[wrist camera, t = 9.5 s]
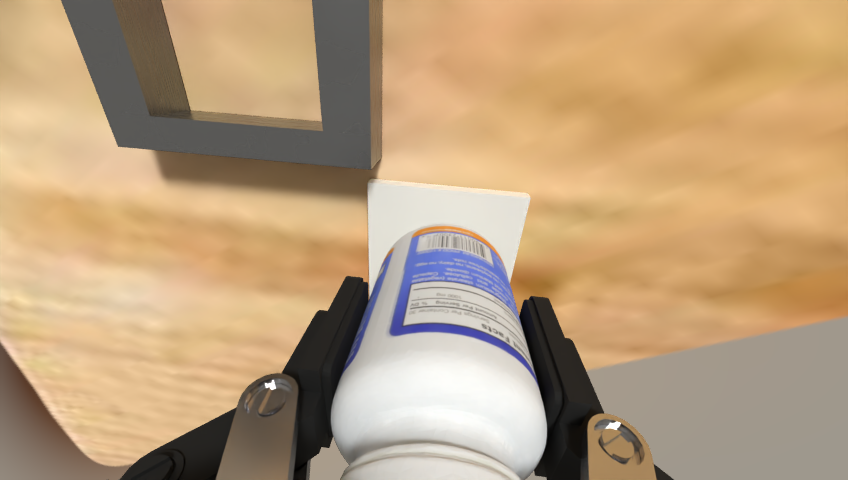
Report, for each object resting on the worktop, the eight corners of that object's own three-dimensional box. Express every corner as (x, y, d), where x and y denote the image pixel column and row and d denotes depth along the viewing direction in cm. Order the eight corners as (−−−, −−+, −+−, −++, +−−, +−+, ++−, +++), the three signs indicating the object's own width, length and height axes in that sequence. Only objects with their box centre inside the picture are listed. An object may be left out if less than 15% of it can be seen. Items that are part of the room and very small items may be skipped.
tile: (527, 192, 14) (530, 197, 13) (498, 314, 17) (500, 322, 17) (370, 178, 14) (367, 182, 14) (372, 300, 17) (369, 307, 17)
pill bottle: (433, 336, 16) (411, 651, 7) (358, 263, 14) (210, 565, 5) (529, 284, 14) (655, 631, 5) (455, 192, 12) (463, 486, 4)
